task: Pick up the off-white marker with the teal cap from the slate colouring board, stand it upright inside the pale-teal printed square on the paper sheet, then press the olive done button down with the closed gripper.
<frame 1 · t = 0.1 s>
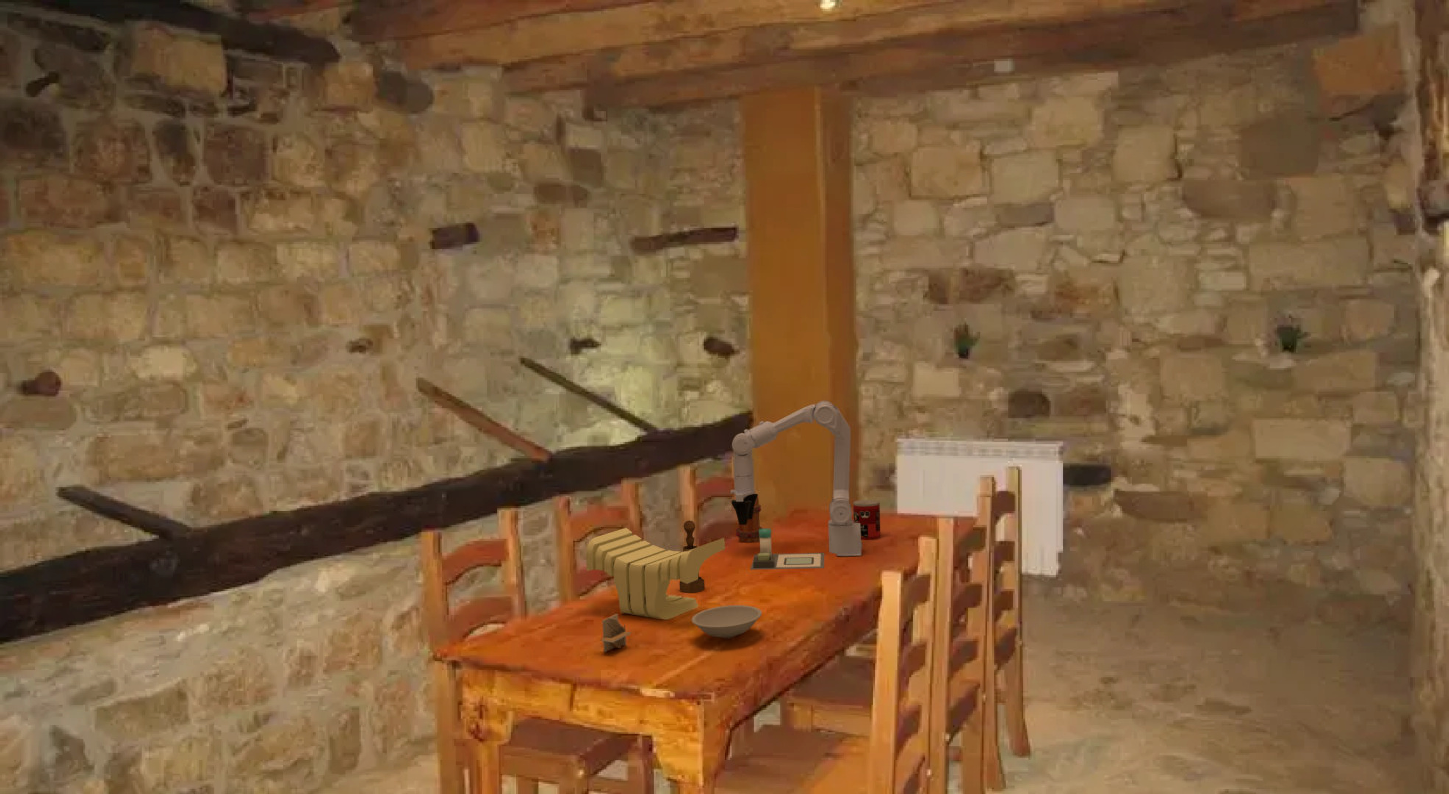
hand: (745, 521, 331), 10 cm above the table, fingers open, 7 cm apart
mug: (749, 541, 353), on the table
done button: (763, 557, 316), point 3 cm above the table, slide at 0.0 cm
mortar and pestle: (692, 590, 297), on the table
dish: (727, 638, 254), on the table
colouring board: (788, 563, 321), on the table
marker: (766, 557, 326), point 1 cm above the table, touching colouring board
architectural model: (615, 651, 250), on the table
canned food: (867, 538, 350), on the table
slatted curved stool: (657, 612, 278), on the table
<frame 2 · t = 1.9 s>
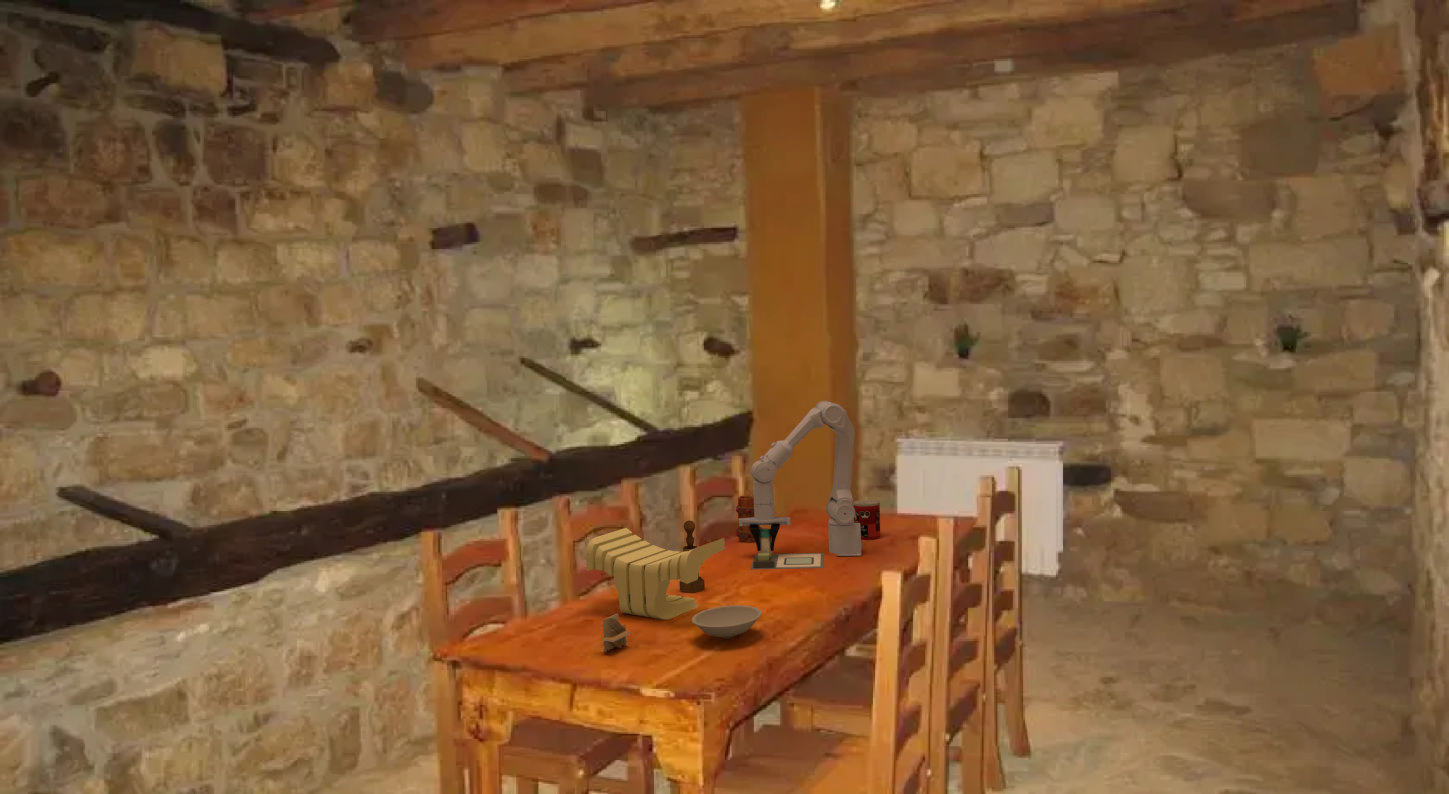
hand: (765, 550, 326), 3 cm above the table, fingers closed on marker, 3 cm apart
marker: (766, 557, 326), point 1 cm above the table, touching colouring board, gripper
everything else where it was.
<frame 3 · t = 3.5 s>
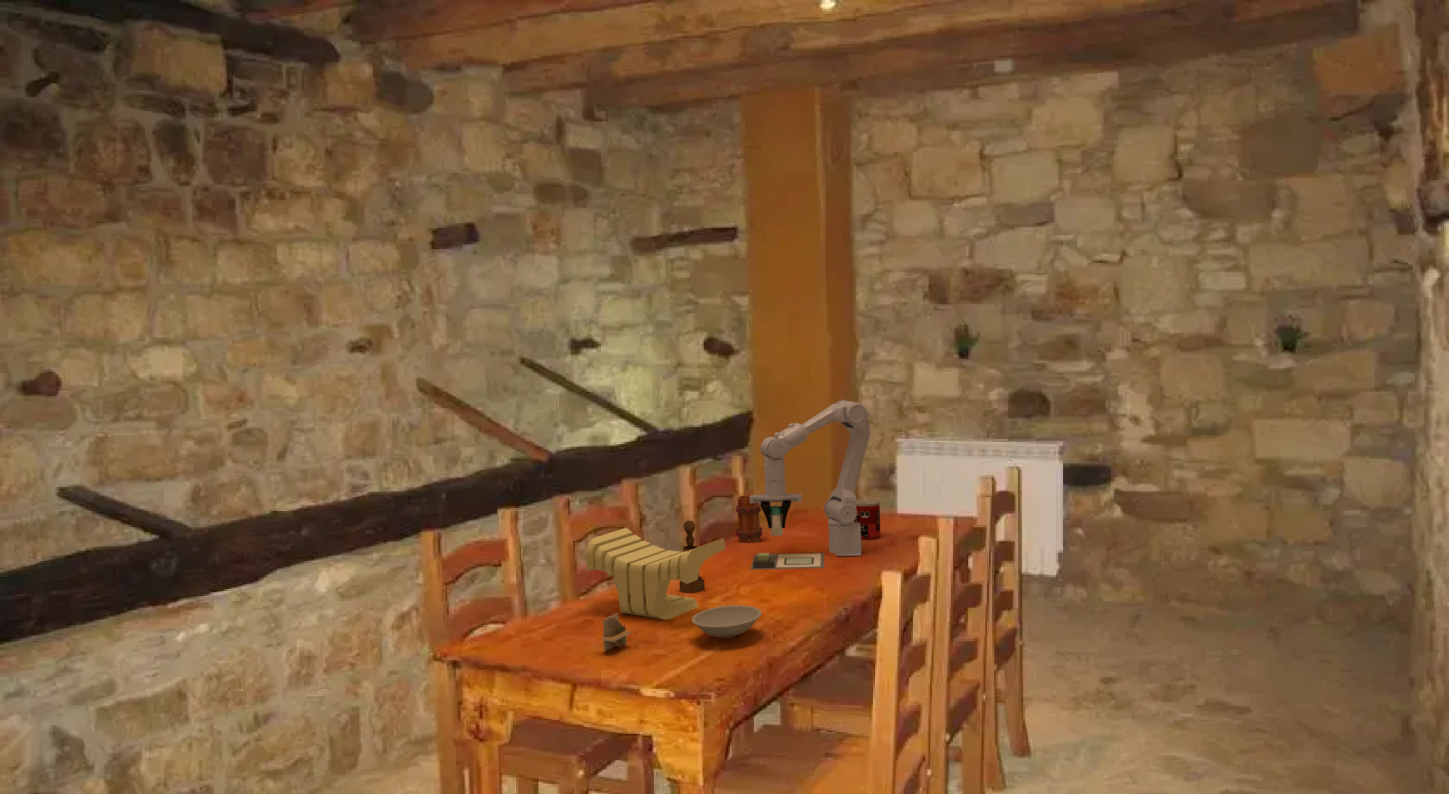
hand: (776, 527, 323), 10 cm above the table, fingers closed on marker, 3 cm apart
marker: (777, 534, 323), point 8 cm above the table, touching gripper
everything else where it was.
when the fingers open (4 cm above the table, at t = 5.3 s): marker drops 1 cm, resting on colouring board.
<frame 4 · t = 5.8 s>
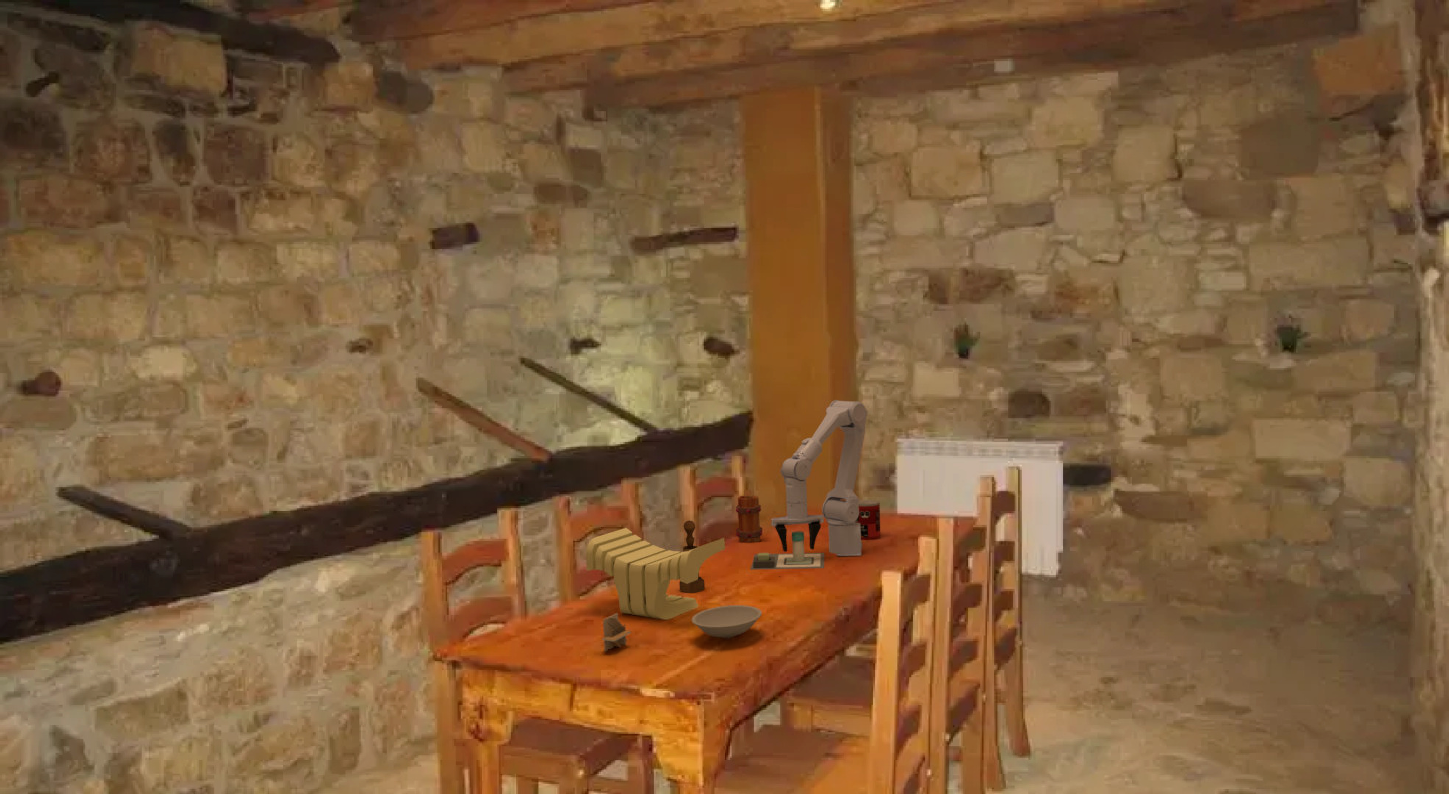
hand: (798, 549, 319), 4 cm above the table, fingers open, 7 cm apart
marker: (798, 560, 319), point 1 cm above the table, touching colouring board
everything else where it was.
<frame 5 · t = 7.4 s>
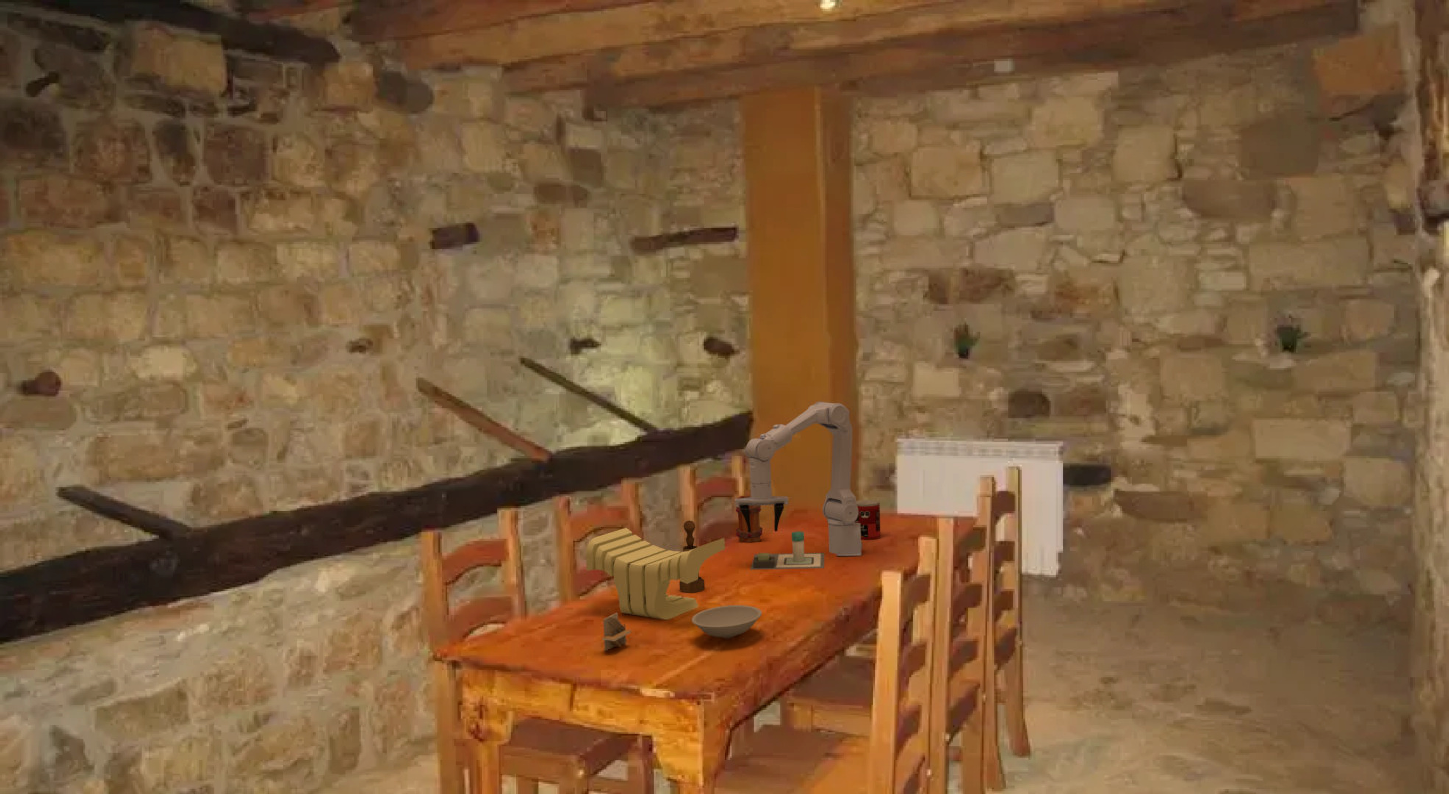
hand: (762, 531, 315), 10 cm above the table, fingers open, 7 cm apart
nothing on the table moved.
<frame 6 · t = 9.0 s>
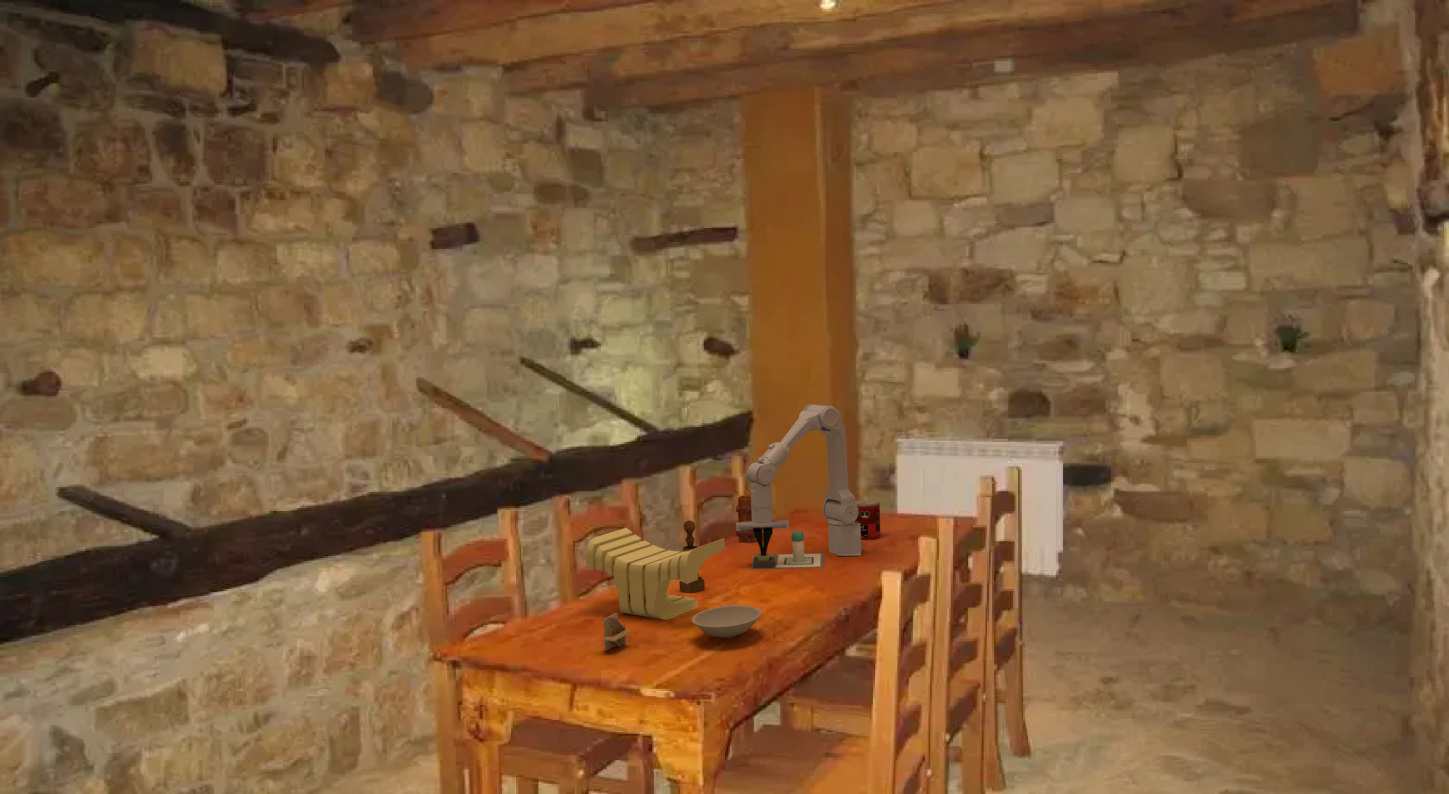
hand: (763, 555, 316), 4 cm above the table, fingers closed, pressing on done button
done button: (763, 558, 316), point 3 cm above the table, slide at 0.2 cm, touching gripper
everything else where it was.
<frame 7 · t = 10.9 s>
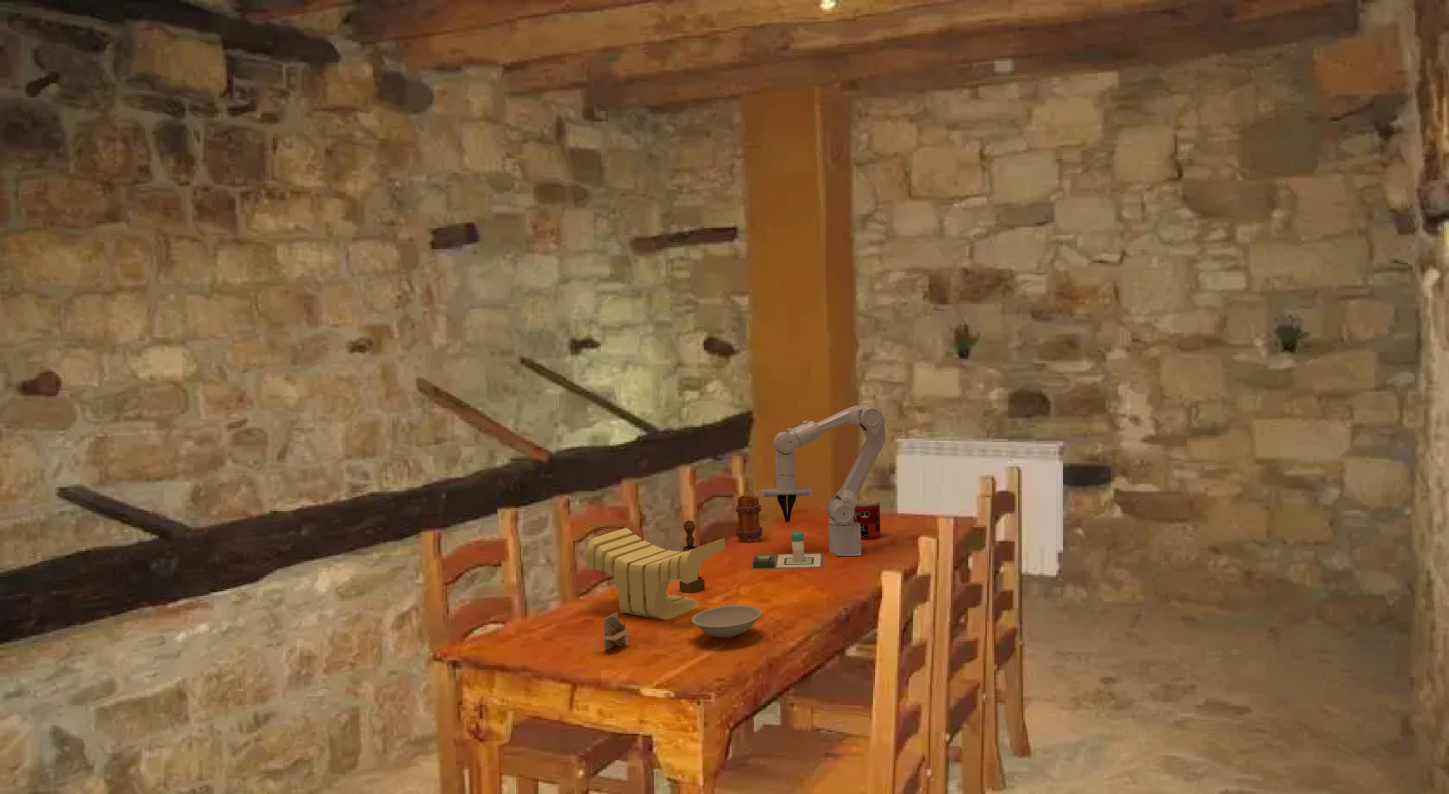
hand: (787, 521, 327), 10 cm above the table, fingers closed
done button: (763, 560, 316), point 2 cm above the table, slide at 0.8 cm
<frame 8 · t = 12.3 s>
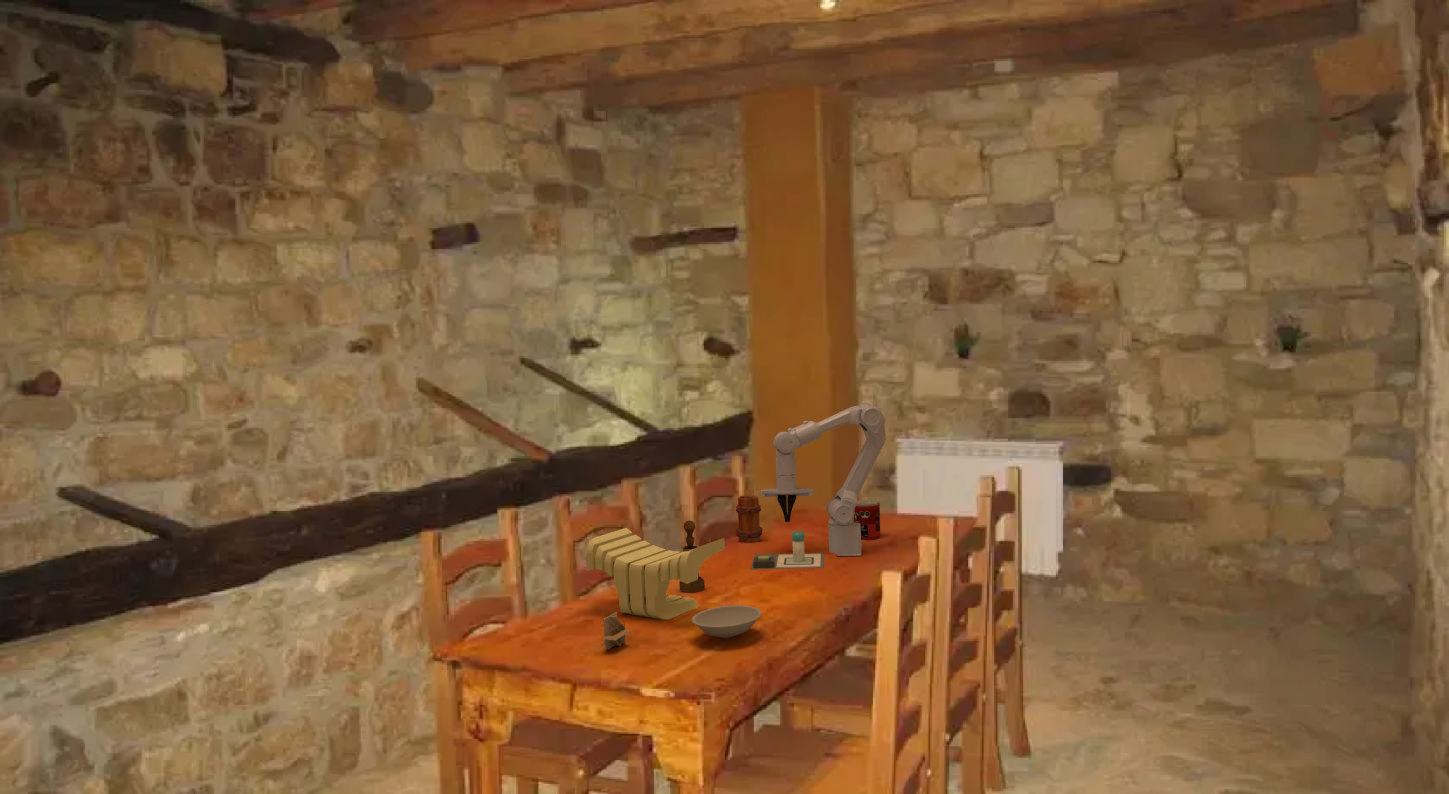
hand: (787, 521, 328), 10 cm above the table, fingers closed
at the end: marker 0.0 cm from the target spot, point 1.0 cm above the table; marker tilted 2°; done button slide at 0.8 cm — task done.
